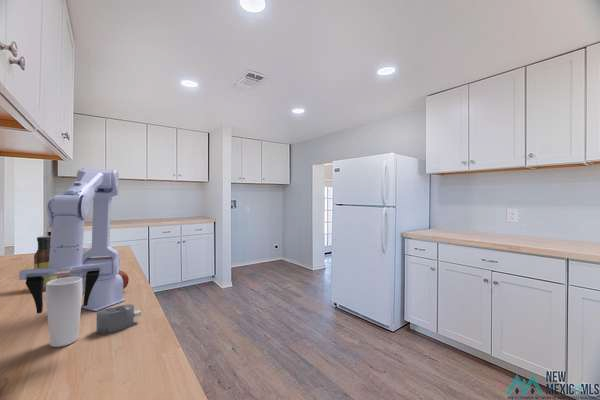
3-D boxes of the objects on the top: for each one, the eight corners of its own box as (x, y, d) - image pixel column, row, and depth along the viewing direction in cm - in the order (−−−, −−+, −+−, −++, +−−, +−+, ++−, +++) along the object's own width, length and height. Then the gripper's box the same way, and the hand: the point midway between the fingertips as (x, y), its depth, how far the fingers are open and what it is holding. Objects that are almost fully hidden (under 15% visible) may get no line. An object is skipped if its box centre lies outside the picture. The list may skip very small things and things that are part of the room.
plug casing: (138, 318, 79) (138, 301, 79) (142, 324, 76) (142, 306, 75) (95, 330, 72) (95, 311, 72) (97, 336, 69) (97, 316, 69)
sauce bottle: (61, 286, 105) (61, 235, 105) (47, 291, 99) (47, 237, 99) (44, 286, 105) (44, 235, 105) (28, 291, 99) (28, 237, 99)
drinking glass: (44, 341, 66) (45, 280, 66) (80, 332, 70) (81, 274, 70) (45, 353, 61) (46, 287, 61) (84, 342, 66) (84, 280, 66)
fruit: (96, 295, 97) (96, 267, 96) (119, 288, 104) (119, 262, 104) (110, 299, 93) (110, 270, 93) (133, 291, 101) (133, 264, 100)
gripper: (18, 249, 54) (13, 320, 53) (107, 245, 63) (104, 305, 62) (24, 248, 60) (19, 312, 58) (104, 244, 69) (102, 300, 67)
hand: (63, 308), depth 60 cm, fingers open, 7 cm apart
